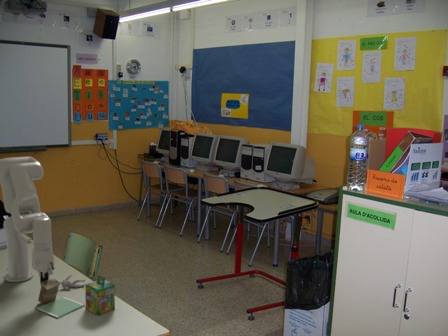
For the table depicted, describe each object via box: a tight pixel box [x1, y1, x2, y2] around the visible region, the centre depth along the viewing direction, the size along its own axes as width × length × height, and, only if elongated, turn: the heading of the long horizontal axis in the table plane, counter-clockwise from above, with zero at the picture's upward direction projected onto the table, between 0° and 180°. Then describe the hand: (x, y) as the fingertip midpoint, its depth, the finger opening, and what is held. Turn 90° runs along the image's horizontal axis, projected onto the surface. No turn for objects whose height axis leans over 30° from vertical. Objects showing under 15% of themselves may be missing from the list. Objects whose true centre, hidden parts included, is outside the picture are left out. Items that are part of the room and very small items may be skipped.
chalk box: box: [84, 274, 116, 316], centre depth 203 cm, size 9×9×15 cm
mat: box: [35, 296, 85, 320], centre depth 204 cm, size 14×14×1 cm
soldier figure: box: [58, 274, 86, 291], centre depth 225 cm, size 8×5×12 cm
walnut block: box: [37, 277, 60, 306], centre depth 208 cm, size 4×6×10 cm
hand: (44, 285), depth 209 cm, fingers closed
